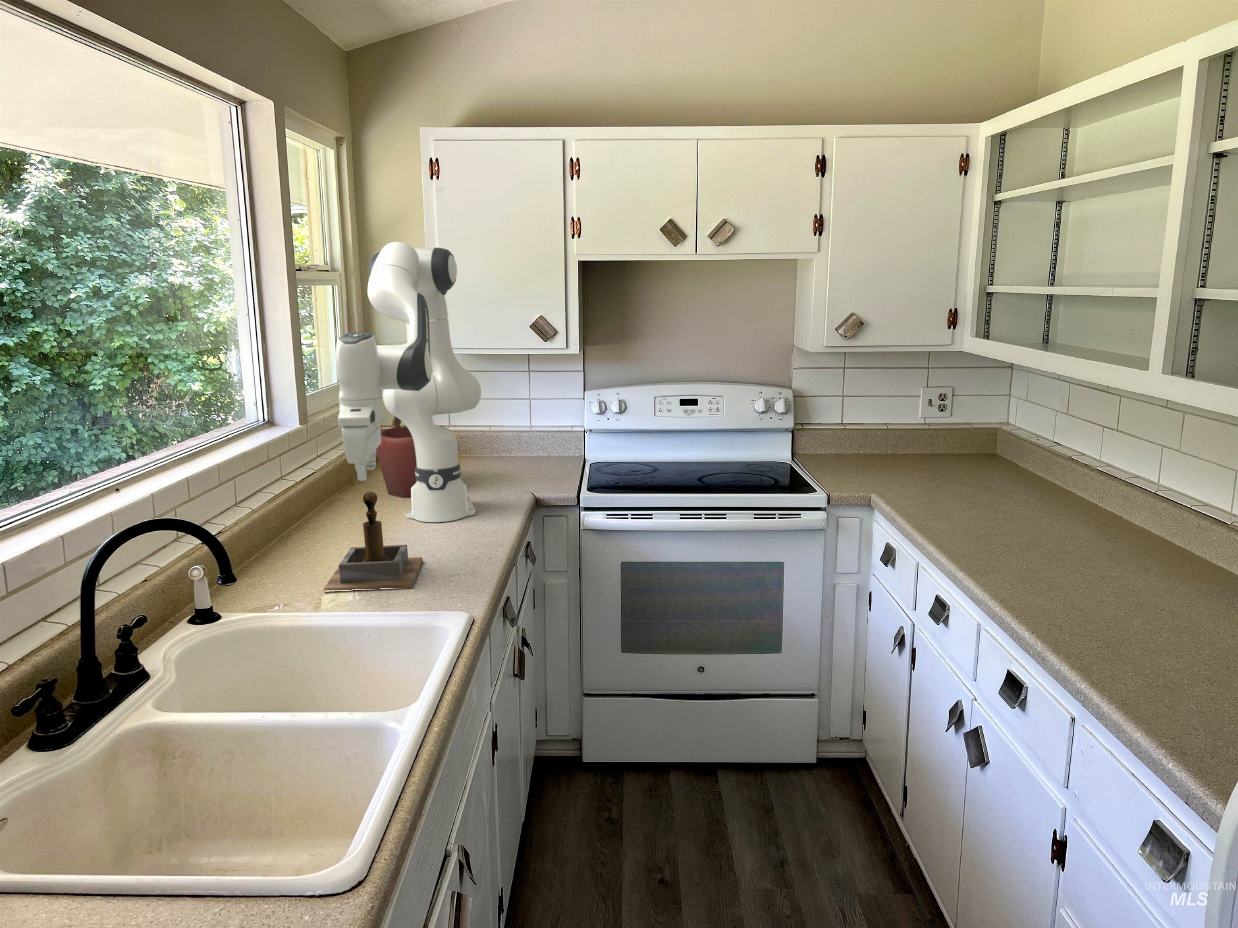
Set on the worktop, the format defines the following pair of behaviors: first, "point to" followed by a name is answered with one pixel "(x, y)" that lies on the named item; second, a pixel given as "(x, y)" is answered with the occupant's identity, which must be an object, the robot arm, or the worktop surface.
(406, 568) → the holder board
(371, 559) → the wooden pepper mill
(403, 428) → the bucket
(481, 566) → the worktop surface
